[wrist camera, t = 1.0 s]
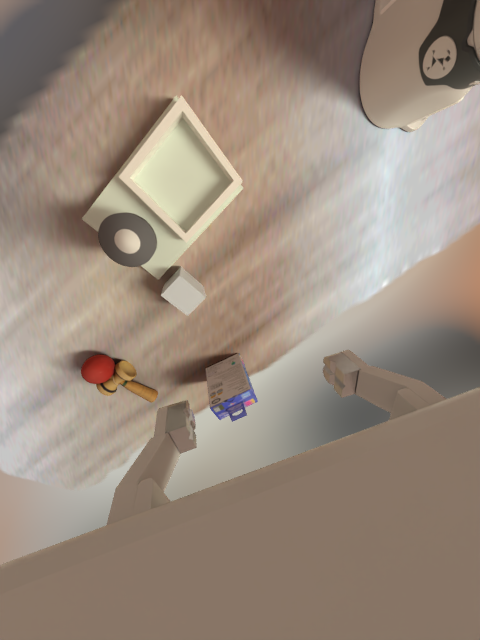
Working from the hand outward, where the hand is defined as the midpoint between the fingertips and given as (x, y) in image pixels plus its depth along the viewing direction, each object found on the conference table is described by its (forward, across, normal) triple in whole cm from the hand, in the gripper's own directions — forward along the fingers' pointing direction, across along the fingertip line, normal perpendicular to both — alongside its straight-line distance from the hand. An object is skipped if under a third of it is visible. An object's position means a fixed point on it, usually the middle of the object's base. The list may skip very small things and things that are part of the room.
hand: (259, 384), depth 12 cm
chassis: (+33, +4, -11) cm, 35 cm away
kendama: (+35, +25, +22) cm, 48 cm away
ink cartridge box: (+34, +2, +28) cm, 44 cm away
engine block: (+34, +5, +4) cm, 34 cm away
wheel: (+27, +10, -7) cm, 30 cm away
